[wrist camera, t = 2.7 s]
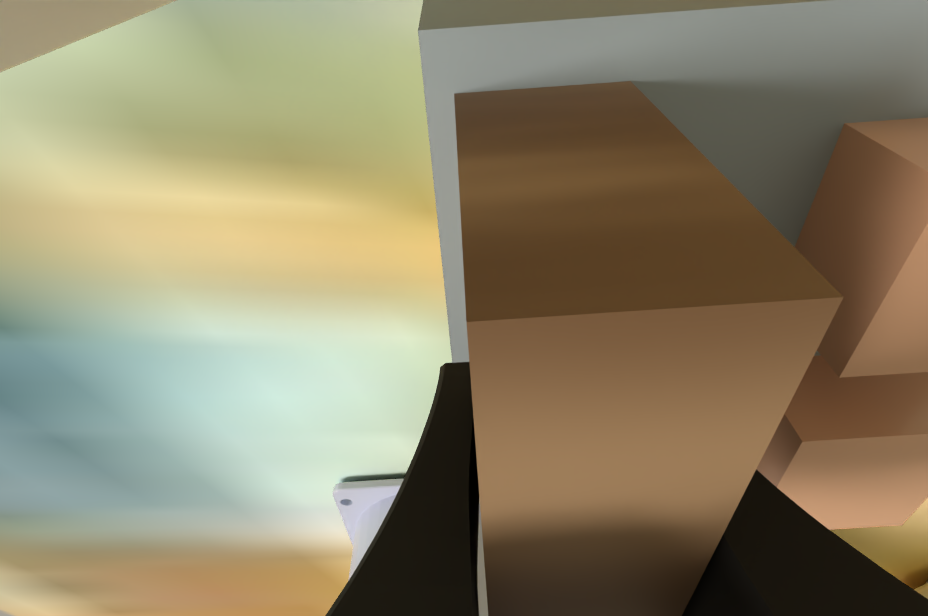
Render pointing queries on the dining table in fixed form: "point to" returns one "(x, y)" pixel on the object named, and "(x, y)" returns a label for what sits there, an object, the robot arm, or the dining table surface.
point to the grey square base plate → (683, 85)
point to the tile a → (853, 447)
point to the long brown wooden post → (616, 347)
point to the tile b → (874, 247)
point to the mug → (59, 24)
